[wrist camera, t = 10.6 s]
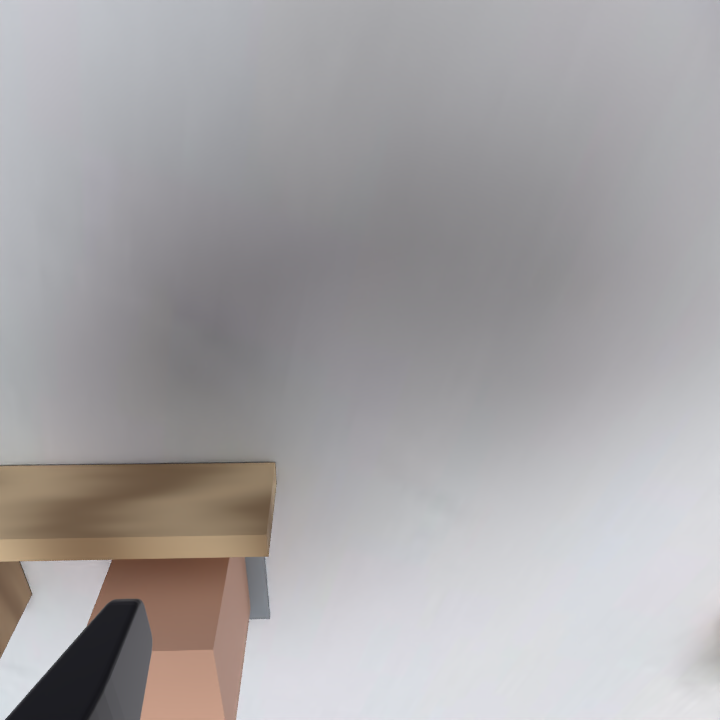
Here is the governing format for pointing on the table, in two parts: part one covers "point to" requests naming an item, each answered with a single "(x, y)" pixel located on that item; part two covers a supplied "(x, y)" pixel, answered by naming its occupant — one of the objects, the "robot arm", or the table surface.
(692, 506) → the table surface
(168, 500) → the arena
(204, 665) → the terracotta block
